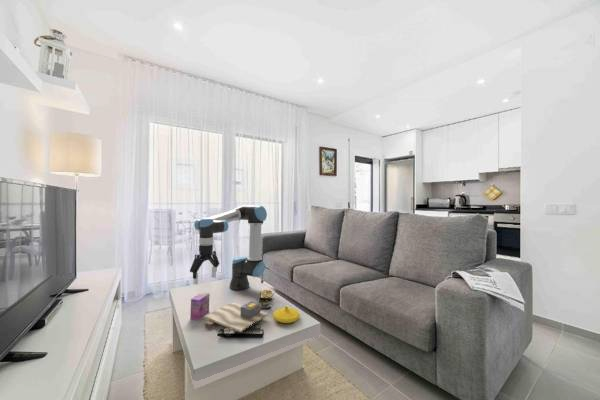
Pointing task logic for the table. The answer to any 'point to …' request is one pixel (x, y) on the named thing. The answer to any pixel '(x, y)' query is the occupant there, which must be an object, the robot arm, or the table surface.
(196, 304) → the box
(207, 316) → the beige cloth
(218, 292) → the table surface
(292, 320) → the yellow pattypan squash
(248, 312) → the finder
